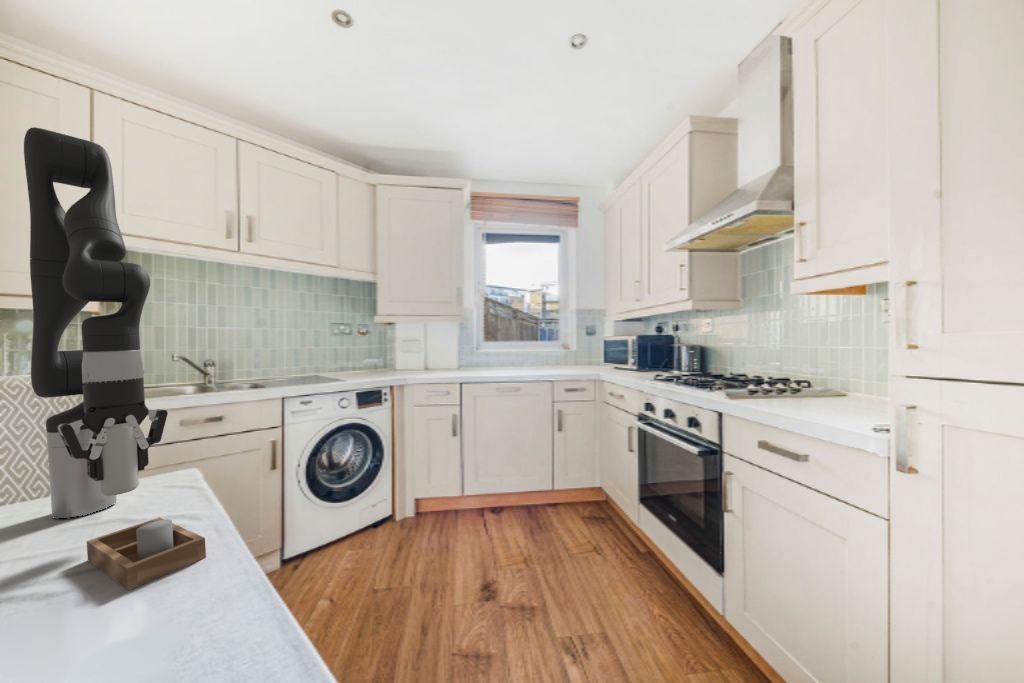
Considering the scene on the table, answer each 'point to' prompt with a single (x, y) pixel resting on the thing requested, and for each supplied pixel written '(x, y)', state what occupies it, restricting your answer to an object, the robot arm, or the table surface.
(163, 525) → the stub
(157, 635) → the table surface
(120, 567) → the rack
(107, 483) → the beverage can
